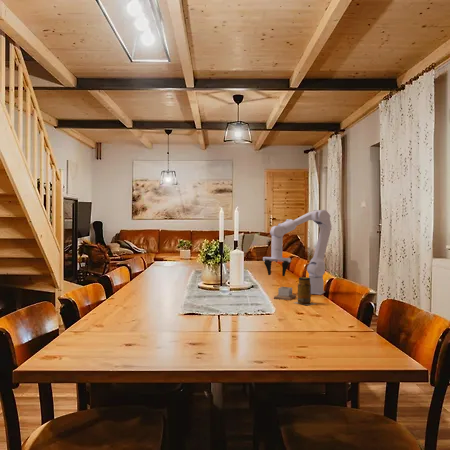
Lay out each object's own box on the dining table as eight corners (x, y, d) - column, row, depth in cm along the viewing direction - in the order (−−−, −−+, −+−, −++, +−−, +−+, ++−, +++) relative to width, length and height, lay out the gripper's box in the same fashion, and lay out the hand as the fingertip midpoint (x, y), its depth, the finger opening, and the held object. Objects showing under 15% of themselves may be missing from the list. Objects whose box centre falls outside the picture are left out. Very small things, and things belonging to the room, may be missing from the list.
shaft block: (280, 295, 230) (280, 286, 230) (295, 297, 227) (295, 288, 227) (274, 298, 221) (274, 289, 221) (289, 300, 218) (289, 291, 218)
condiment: (303, 301, 216) (303, 276, 216) (317, 304, 210) (317, 278, 209) (293, 303, 211) (293, 277, 211) (307, 306, 205) (307, 279, 205)
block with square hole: (281, 294, 228) (281, 286, 228) (292, 295, 225) (292, 287, 225) (278, 296, 223) (278, 288, 223) (288, 297, 221) (288, 289, 220)
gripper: (260, 249, 233) (260, 275, 233) (288, 250, 226) (287, 277, 227) (265, 248, 239) (265, 273, 239) (292, 249, 233) (291, 275, 233)
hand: (276, 275), depth 233 cm, fingers open, 7 cm apart
